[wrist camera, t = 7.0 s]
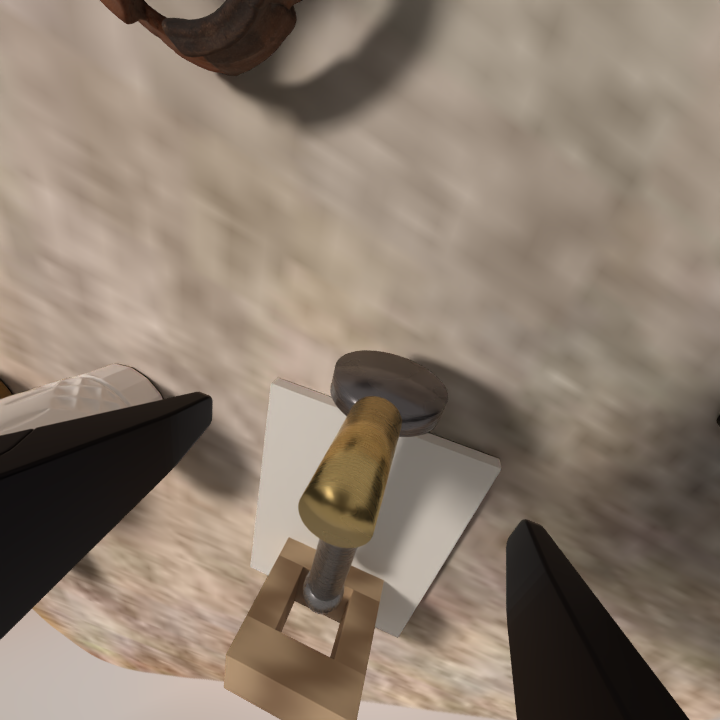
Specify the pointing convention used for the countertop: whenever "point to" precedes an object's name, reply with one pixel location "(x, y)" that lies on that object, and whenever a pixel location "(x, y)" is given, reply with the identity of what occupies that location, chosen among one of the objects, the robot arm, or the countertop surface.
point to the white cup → (76, 398)
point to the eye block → (303, 646)
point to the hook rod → (362, 460)
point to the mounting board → (398, 508)
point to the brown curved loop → (218, 31)
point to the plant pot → (4, 391)
